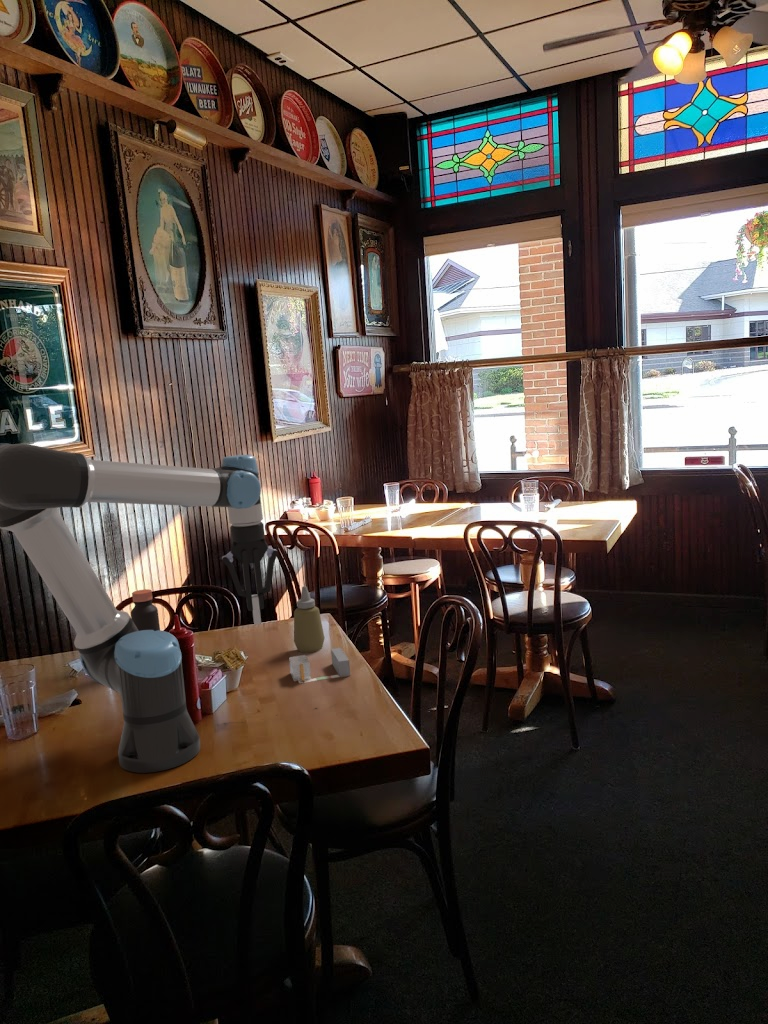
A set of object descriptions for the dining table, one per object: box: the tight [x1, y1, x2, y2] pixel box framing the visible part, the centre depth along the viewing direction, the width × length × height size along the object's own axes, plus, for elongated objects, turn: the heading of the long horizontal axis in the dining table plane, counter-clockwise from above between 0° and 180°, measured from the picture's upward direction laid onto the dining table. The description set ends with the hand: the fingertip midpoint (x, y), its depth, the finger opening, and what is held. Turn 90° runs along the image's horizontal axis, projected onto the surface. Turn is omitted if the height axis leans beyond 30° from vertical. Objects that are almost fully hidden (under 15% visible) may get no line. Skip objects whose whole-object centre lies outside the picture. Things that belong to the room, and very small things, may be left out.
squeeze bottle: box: [293, 586, 325, 653], centre depth 200 cm, size 8×8×18 cm
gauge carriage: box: [288, 654, 312, 682], centre depth 179 cm, size 7×4×4 cm, turn 15°
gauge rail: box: [297, 647, 351, 684], centre depth 181 cm, size 10×15×5 cm, turn 105°
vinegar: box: [130, 588, 161, 631], centre depth 199 cm, size 7×7×20 cm
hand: (257, 623), depth 176 cm, fingers closed
